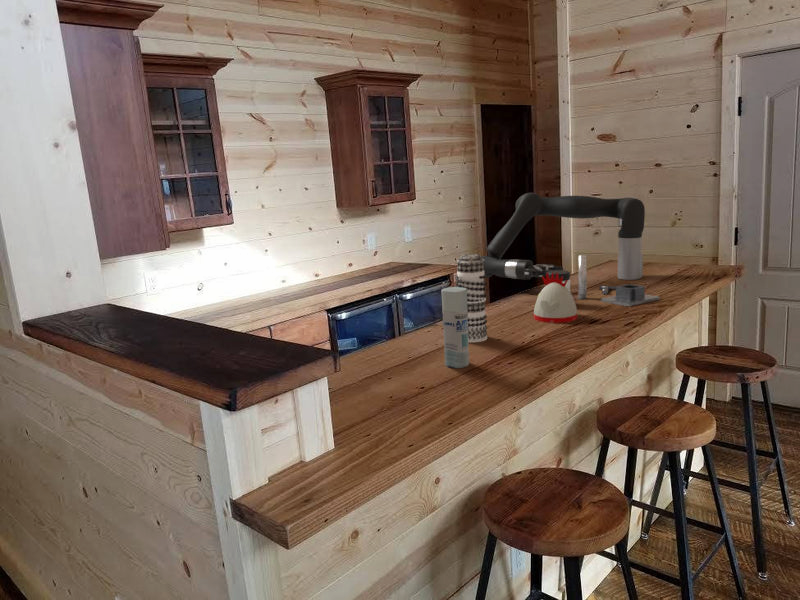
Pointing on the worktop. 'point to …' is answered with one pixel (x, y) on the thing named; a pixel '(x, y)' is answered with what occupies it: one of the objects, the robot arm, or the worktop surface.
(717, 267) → the worktop surface
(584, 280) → the steel rod
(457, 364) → the spray paint can
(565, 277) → the jar
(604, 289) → the chuck key
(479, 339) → the decorative candle
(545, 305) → the kitchen timer
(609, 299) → the chuck block
